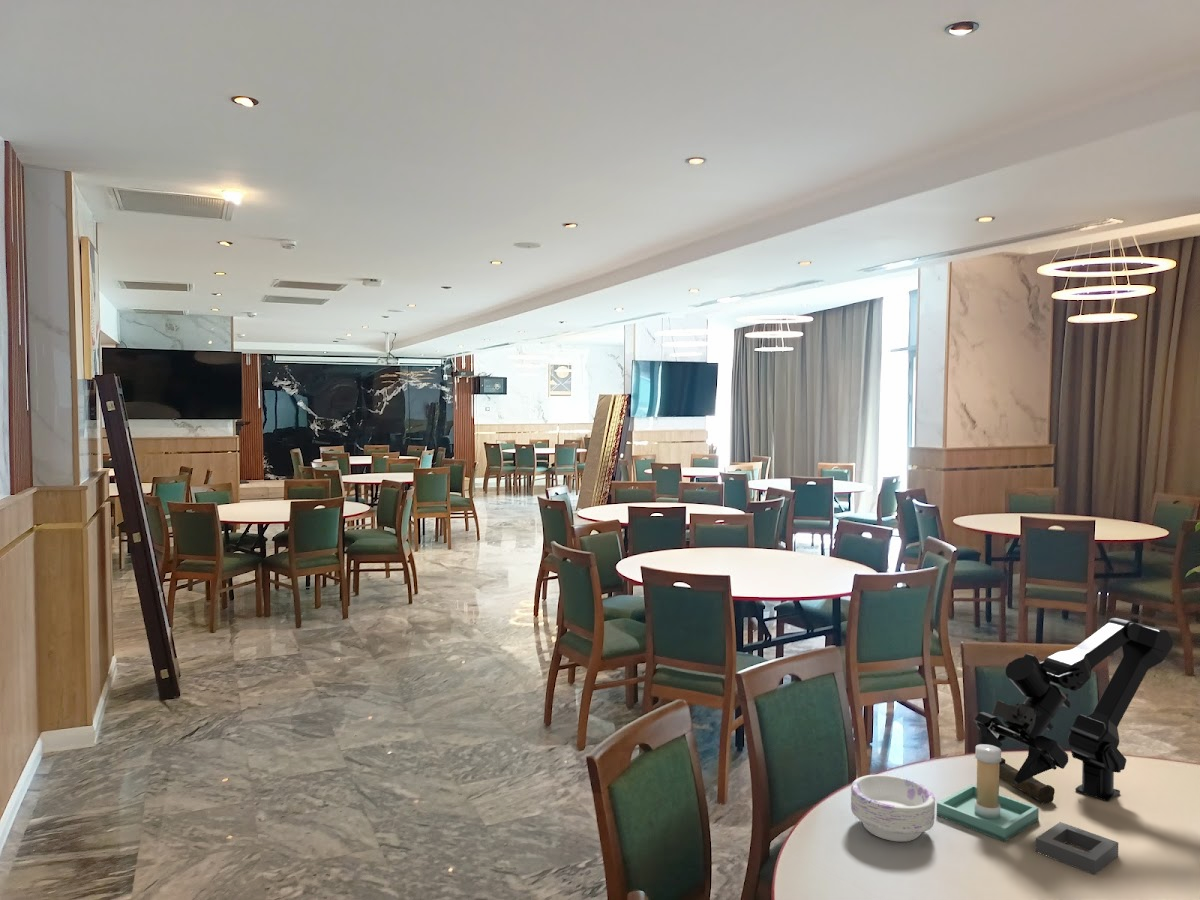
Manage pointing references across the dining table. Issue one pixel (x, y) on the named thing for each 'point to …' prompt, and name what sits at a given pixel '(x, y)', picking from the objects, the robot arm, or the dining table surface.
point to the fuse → (987, 781)
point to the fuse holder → (1091, 861)
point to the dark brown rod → (1027, 784)
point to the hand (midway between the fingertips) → (996, 773)
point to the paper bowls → (892, 806)
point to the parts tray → (1003, 828)
